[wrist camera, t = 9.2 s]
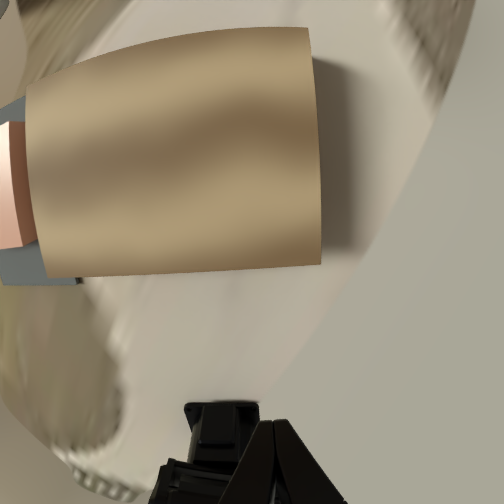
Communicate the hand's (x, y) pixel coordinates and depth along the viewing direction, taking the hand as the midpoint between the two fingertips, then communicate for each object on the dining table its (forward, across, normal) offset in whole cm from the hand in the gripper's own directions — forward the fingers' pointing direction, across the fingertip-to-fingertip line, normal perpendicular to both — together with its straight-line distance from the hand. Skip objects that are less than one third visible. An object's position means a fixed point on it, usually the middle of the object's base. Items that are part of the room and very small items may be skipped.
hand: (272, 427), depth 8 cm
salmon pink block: (+10, +19, -8) cm, 23 cm away
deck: (+12, +5, -8) cm, 15 cm away
